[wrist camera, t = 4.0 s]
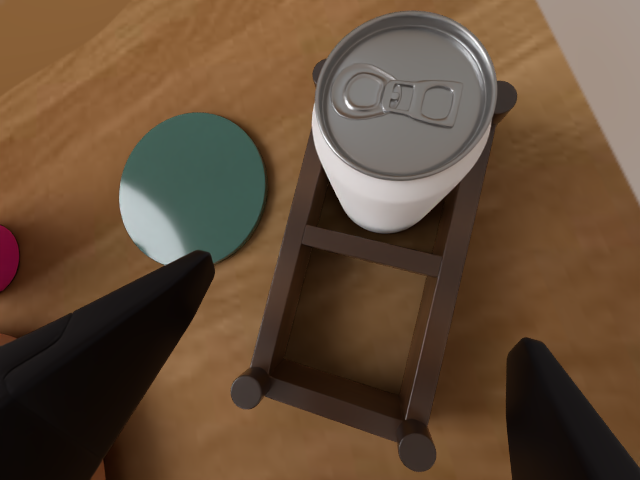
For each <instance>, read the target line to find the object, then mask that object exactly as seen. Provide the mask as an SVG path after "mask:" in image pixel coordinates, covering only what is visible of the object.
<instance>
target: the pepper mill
mask: <svg viewBox="0 0 640 480" xmlns="http://www.w3.org/2000/svg"><path fill="white" fill-rule="evenodd" d="M18 263H19V249H18V244H17V242H16V239H15V237H14V236H13V234H12V233H11V232H10V231H9V230H8V229H7V228H5V227H4V226H2V225H0V292H1V291H2V290H4V289H5V288H6V287H7V286H8V285H9V284H10V282H11V281H12V279H13V277H14V276H15V274H16V271H17V267H18Z"/></svg>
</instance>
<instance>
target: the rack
mask: <svg viewBox="0 0 640 480" xmlns="http://www.w3.org/2000/svg"><path fill="white" fill-rule="evenodd" d="M325 61H326V59H323V60H321V61H320V62H318V63H317V65H316V66H315V67H314V70H313V80H314V84H315V87H316V85H317V81H318V78H319V75H320V72H321V69H322V67H323V65H324V63H325ZM516 101H517V93H516V90H515V88H514V87H513V86H512V85H511V84H509V83H508V82H505V81H497V100H496V106H495V110H494V114H493V117H492V121H491V128H490V133H489V136H488V140H487V142H486V145H485V147H484V149H483V151H482V153H481V155H480V157H479V158H478V160H477V162H476V163H475V164H474V166H473V167H472V169H471V170H470V171H469V172H468V173H467V174H466V176H465V177H464V178H463V179H462V180H461V181H460V182H459V183H458V184H457V185H456V186H455V187H454V188H453V189H452V190H451V191H450V192H449V193H448V194H447V195H446V197H445V201H444V205H443V210H442V214H441V218H440V222H439V227H438V231H437V235H436V240H435V244H434V248H433V253H432V254H430V253H425V252H421V251H417V250H413V249H408V248H404V247H400V246H396V245H391V244H387V243H383V242H379V241H374V240H370V239H366V238H362V237H357V236H353V235H349V234H345V233H340V232H336V231H332V230H327V229H323V228H319V227H317V226H318V222H319V218H320V214H321V210H322V206H323V202H324V198H325V194H326V190H327V186H328V182H329V179H328V177H327V174H326V172H325V170H324V168H323V166H322V163H321V161H320V159H319V156H318V153H317V151H316V147H315V143H314V138H313V132H312V128H311V132H310V136H309V140H308V144H307V148H306V151H305V155H304V159H303V163H302V167H301V171H300V175H299V179H298V183H297V186H296V190H295V194H294V198H293V202H292V206H291V210H290V214H289V218H288V221H287V225H286V229H285V233H284V237H283V241H282V245H281V249H280V253H279V256H278V260H277V264H276V268H275V272H274V276H273V280H272V284H271V288H270V291H269V295H268V299H267V303H266V307H265V311H264V315H263V319H262V323H261V326H260V330H259V334H258V338H257V342H256V346H255V350H254V354H253V358H252V361H251V365H250V368H249V369H247V370H246V371H245V372H244V373H243V374H241V375H240V376H239V377H238V378H236V379H235V381H234V382H233V384H232V386H231V397H232V400H233V402H234V403H235V404H236V405H237V406H238V407H240V408H242V409H252V408H254V407H256V406H257V405H258V404H259V402H260V401H261V400H262V399H263V398H264V396H265V397H268V398H271V399H274V400H277V401H280V402H282V403H285V404H288V405H291V406H294V407H297V408H300V409H303V410H305V411H308V412H311V413H314V414H317V415H320V416H323V417H326V418H328V419H331V420H334V421H337V422H340V423H343V424H346V425H349V426H351V427H354V428H357V429H360V430H363V431H366V432H369V433H372V434H374V435H377V436H380V437H383V438H386V439H389V440H392V441H394V442H397V446H398V453H399V457H400V459H401V461H402V463H403V464H404V465H405V466H406V467H407V468H409V469H411V470H413V471H416V472H423V471H426V470H428V469H430V468H431V467H432V466H433V464H434V462H435V460H436V449H435V446H434V443H433V440H432V437H431V435H430V432H429V429H428V422H429V417H430V413H431V409H432V404H433V400H434V395H435V391H436V387H437V382H438V378H439V373H440V369H441V365H442V360H443V356H444V351H445V347H446V343H447V338H448V334H449V330H450V325H451V321H452V316H453V312H454V308H455V303H456V299H457V294H458V290H459V286H460V281H461V277H462V272H463V268H464V264H465V259H466V255H467V250H468V246H469V242H470V237H471V233H472V229H473V224H474V220H475V215H476V211H477V207H478V202H479V198H480V193H481V189H482V185H483V180H484V176H485V171H486V167H487V163H488V158H489V154H490V150H491V145H492V141H493V136H494V132H495V128H496V126H497V125H498V124H499V123H500V121H501V120H502V119H503V118H504V117H505V116H506V115H507V113H508V112H509V111H510V110H511V109H512V108H513V107H514V105H515V103H516ZM312 248H316V249H320V250H324V251H328V252H332V253H336V254H340V255H344V256H348V257H352V258H356V259H360V260H364V261H369V262H373V263H377V264H381V265H385V266H389V267H393V268H397V269H401V270H405V271H409V272H413V273H417V274H421V275H425V276H427V278H426V283H425V287H424V291H423V295H422V300H421V304H420V308H419V313H418V317H417V321H416V325H415V330H414V334H413V338H412V343H411V347H410V351H409V355H408V360H407V364H406V368H405V373H404V377H403V381H402V385H401V390H400V394H399V395H395V394H392V393H389V392H385V391H382V390H379V389H376V388H373V387H370V386H367V385H364V384H360V383H357V382H354V381H351V380H348V379H345V378H342V377H339V376H336V375H332V374H329V373H326V372H323V371H320V370H317V369H314V368H311V367H308V366H304V365H301V364H298V363H295V362H292V361H289V360H286V359H284V357H285V353H286V349H287V345H288V341H289V337H290V333H291V329H292V325H293V321H294V317H295V313H296V309H297V305H298V301H299V297H300V293H301V289H302V285H303V281H304V277H305V273H306V269H307V265H308V261H309V257H310V254H311V250H312Z"/></svg>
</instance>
